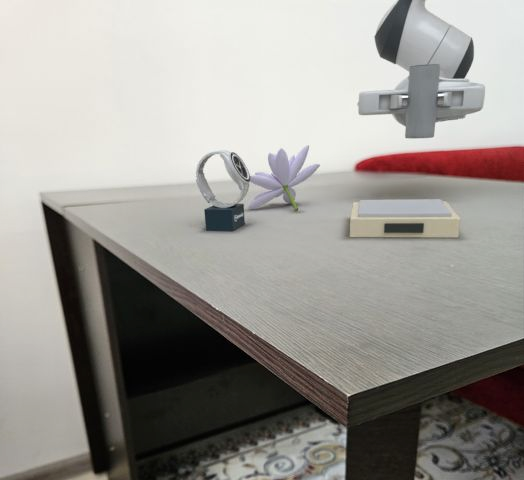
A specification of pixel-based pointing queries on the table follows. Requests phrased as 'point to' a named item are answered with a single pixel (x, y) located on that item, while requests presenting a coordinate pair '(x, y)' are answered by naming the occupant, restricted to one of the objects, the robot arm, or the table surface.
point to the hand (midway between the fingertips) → (422, 100)
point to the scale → (404, 219)
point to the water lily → (282, 177)
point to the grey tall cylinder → (422, 101)
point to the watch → (221, 213)
